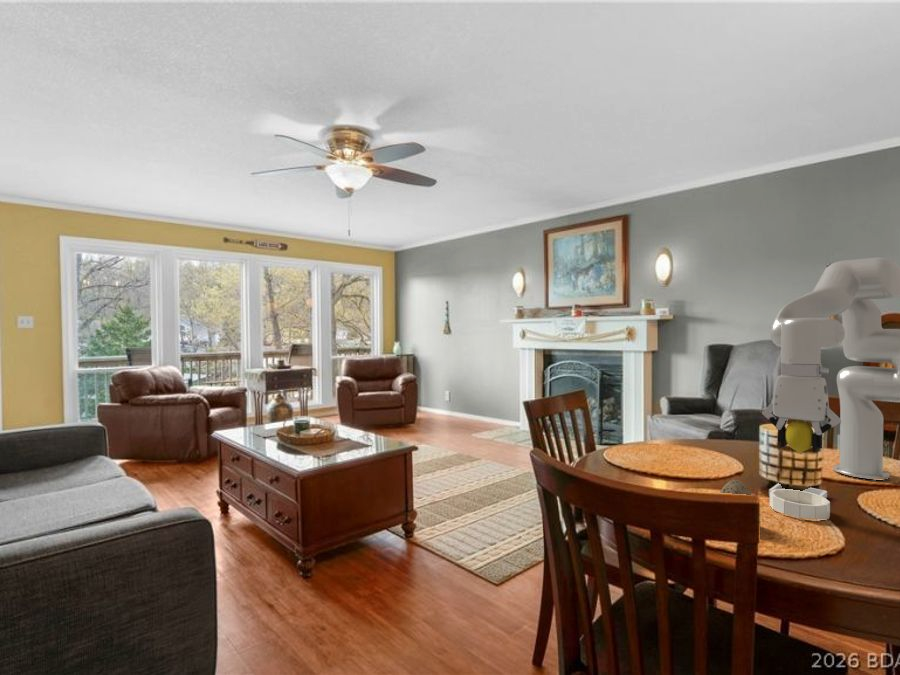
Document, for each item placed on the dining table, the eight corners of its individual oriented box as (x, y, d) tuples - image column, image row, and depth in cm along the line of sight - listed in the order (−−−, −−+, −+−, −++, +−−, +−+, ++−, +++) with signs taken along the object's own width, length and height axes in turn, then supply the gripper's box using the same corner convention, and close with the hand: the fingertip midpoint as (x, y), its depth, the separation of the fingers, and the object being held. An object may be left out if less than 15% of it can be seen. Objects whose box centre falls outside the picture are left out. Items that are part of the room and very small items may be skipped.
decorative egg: (713, 525, 104) (713, 479, 104) (722, 515, 109) (722, 472, 109) (750, 534, 99) (751, 487, 99) (758, 524, 104) (759, 479, 104)
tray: (780, 487, 128) (780, 481, 128) (827, 496, 121) (827, 491, 121) (768, 495, 122) (768, 489, 122) (817, 506, 114) (817, 500, 114)
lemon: (819, 457, 108) (819, 421, 108) (791, 455, 109) (792, 421, 109) (806, 450, 113) (806, 417, 113) (780, 449, 114) (780, 416, 114)
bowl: (778, 499, 119) (778, 485, 119) (833, 512, 111) (834, 497, 111) (764, 510, 112) (764, 496, 112) (822, 525, 104) (822, 509, 103)
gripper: (851, 372, 107) (850, 453, 107) (763, 368, 120) (762, 439, 120) (843, 375, 102) (842, 459, 102) (752, 369, 115) (752, 444, 115)
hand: (799, 447), depth 111 cm, fingers closed on lemon, 5 cm apart
